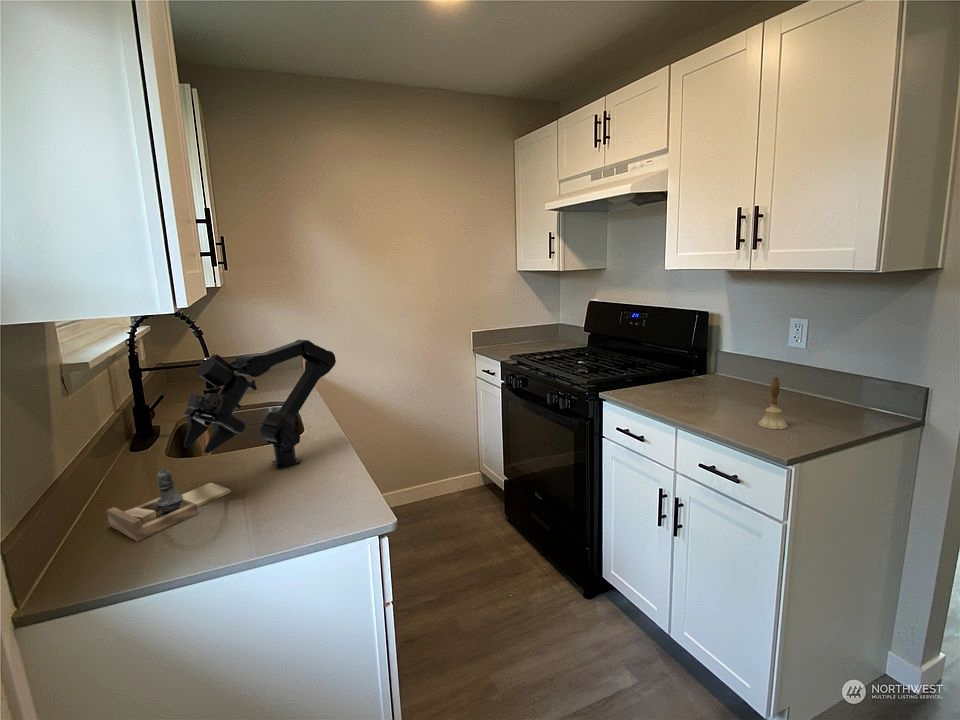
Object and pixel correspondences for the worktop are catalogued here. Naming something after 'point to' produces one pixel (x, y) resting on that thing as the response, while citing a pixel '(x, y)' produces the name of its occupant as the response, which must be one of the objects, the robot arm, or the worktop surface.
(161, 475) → the grey chess piece
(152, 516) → the offcut upper
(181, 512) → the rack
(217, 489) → the cork mat
